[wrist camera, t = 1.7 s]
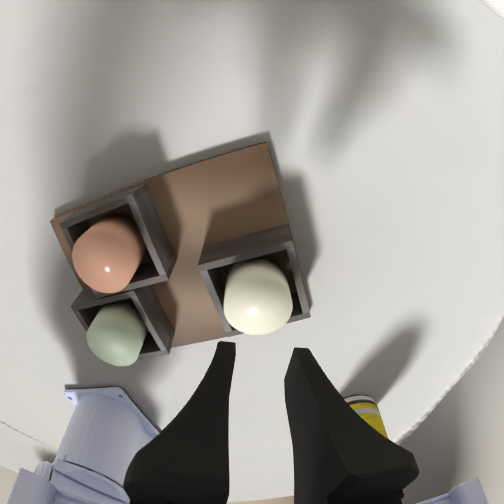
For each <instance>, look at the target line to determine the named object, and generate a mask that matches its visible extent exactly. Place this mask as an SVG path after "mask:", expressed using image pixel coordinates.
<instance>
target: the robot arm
mask: <svg viewBox="0 0 504 504" xmlns="http://www.w3.org/2000/svg"><path fill="white" fill-rule="evenodd" d="M235 356H236V346H235V343H234V342H224V341H220V342H218V344H217V349H216V352H215V355H214V357H213V360H212V362H211V364H210V366H209V368H208V370H207V372H206V374H205V376H204V378H203V380H202V381H201V383H200V384H199V386H198V388H197V389H196V391H195V392H194V394H193V395H192V397H191V398H190V400H189V401H188V402H187V404H186V405H185V406H184V407H183V409H182V410H181V411H180V412H179V413H178V415H177V416H176V417H175V418H174V419H173V420H172V421H171V422H170V423H169V424H168V425H167V426H166V427H165V428H164V429H163V430H162V431H161V432H160V433H159V432H158V431H157V429H156V428H155V427H154V426H153V425H152V424H151V423H150V422H149V421H148V419H147V418H146V417H145V416H144V415H143V414H142V412H141V411H140V410H139V409H138V408H137V407H136V405H135V404H134V403H133V402H132V401H131V399H130V398H129V397H128V396H127V394H126V393H125V392H124V391H123V390H122V389H121V388H120V387H108V388H93V389H71V390H64V392H63V393H64V395H65V396H66V397H67V399H68V400H69V401H70V402H71V403H72V404H73V405H74V406H75V407H76V408H75V410H74V412H73V415H72V417H71V420H70V422H69V424H68V427H67V429H66V432H65V434H64V437H63V439H62V442H61V444H60V447H59V450H58V452H57V455H56V458H55V460H54V462H53V463H52V464H51V463H50V462H48V461H45V462H41V463H39V464H38V465H37V467H36V469H35V471H34V473H32V472H30V471H28V470H26V469H24V468H20V471H19V473H18V476H17V478H16V481H15V484H14V487H13V489H12V492H11V495H10V497H9V501H8V503H7V504H226V503H227V500H228V496H229V448H228V418H229V394H230V388H231V381H232V375H233V369H234V362H235ZM284 385H285V402H286V409H287V415H288V420H289V426H290V432H291V438H292V444H293V457H294V504H402V501H401V498H403V497H404V494H403V490H402V489H404V488H405V487H406V486H407V485H409V484H410V483H411V482H412V481H414V479H416V477H417V476H418V474H419V469H418V466H417V463H416V460H415V458H414V456H413V454H412V453H411V452H409V451H407V450H406V449H404V448H402V447H400V446H399V445H397V444H395V443H393V442H392V441H390V440H389V439H388V438H386V437H385V436H383V435H382V434H381V433H379V432H378V431H377V430H375V429H374V428H373V427H372V426H371V425H369V424H368V423H367V422H366V421H365V420H364V419H362V418H361V417H360V416H359V415H358V414H357V413H356V412H355V411H354V410H353V409H352V408H351V407H350V405H349V404H348V403H347V402H346V401H345V400H344V399H343V397H342V396H341V395H340V394H339V392H338V391H337V390H336V389H335V387H334V386H333V384H332V383H331V382H330V380H329V379H328V378H327V376H326V375H325V373H324V372H323V370H322V369H321V367H320V366H319V364H318V363H317V361H316V359H315V358H314V356H313V355H312V353H311V351H310V350H309V349H308V348H294V350H293V354H292V357H291V360H290V363H289V366H288V369H287V373H286V376H285V379H284ZM417 504H488V501H487V499H486V496H485V494H484V491H483V489H482V486H481V483H480V481H479V479H478V478H477V477H476V478H474V479H471V480H469V481H467V482H464V483H462V484H460V485H458V486H456V487H455V488H453V489H452V490H451V491H450V492H449V493H447V494H444V495H441V496H438V497H436V498H432V499H429V500H426V501H423V502H420V503H417Z"/></svg>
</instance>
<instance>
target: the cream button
mask: <svg viewBox="0 0 504 504" xmlns="http://www.w3.org/2000/svg"><path fill="white" fill-rule="evenodd" d="M292 309H293V304H292V299H291V294H290V290H289V285H288V281H287V276H286V273H285V271H284V269H283V268H282V267H281V265H280V264H279V263H277V262H276V261H274V260H273V259H270V258H268V257H264V256H259V257H255V258H251V259H247V260H243V261H240V262H237V263H236V264H234V265H233V266H232V268H231V269H230V270H229V272H228V275H227V279H226V287H225V297H224V314H225V317H226V319H227V321H228V322H229V323H230V324H231V326H233V327H234V328H235V329H237V330H238V331H240V332H243V333H246V334H250V335H264V334H269V333H272V332H274V331H276V330H278V329H280V328H281V327H282V326H284V325H285V324H286V322H287V321H288V320H289V318H290V316H291V313H292Z"/></svg>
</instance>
